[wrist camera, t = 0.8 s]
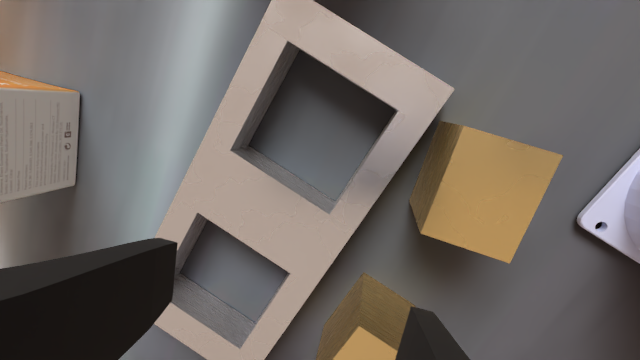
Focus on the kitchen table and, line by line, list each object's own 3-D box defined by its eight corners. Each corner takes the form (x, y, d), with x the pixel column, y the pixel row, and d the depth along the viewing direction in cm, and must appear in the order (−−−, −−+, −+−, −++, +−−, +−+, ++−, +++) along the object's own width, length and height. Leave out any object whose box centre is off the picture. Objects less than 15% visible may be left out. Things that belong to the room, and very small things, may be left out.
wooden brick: (509, 141, 16) (563, 155, 12) (473, 221, 18) (509, 263, 13) (439, 120, 17) (463, 125, 12) (408, 200, 18) (420, 233, 13)
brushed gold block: (415, 305, 19) (427, 371, 14) (372, 356, 20) (371, 432, 16) (363, 271, 19) (358, 326, 15) (324, 324, 21) (308, 390, 16)
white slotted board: (443, 91, 16) (454, 88, 14) (259, 356, 22) (245, 385, 20) (294, -2, 17) (281, -20, 14) (149, 282, 22) (122, 302, 20)
